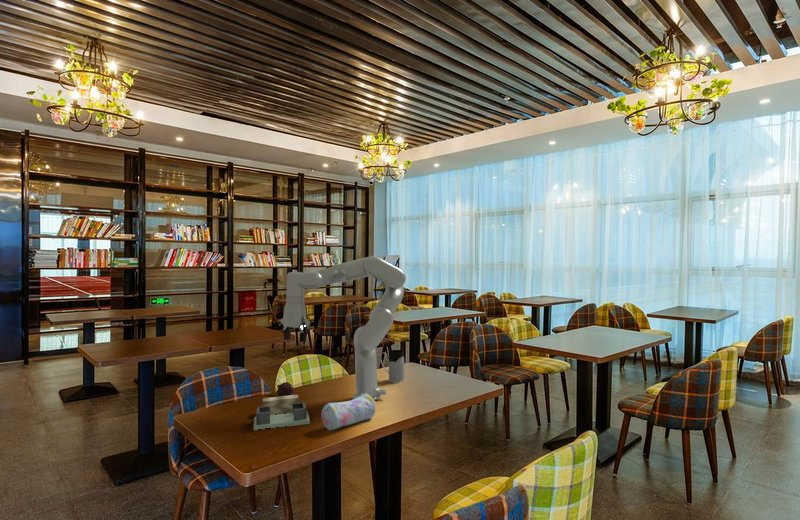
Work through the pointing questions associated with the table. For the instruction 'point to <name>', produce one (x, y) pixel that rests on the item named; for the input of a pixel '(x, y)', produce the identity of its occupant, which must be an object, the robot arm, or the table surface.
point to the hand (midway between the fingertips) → (294, 340)
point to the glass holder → (395, 366)
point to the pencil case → (348, 412)
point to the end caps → (264, 413)
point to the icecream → (285, 389)
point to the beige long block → (281, 404)
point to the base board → (281, 421)
